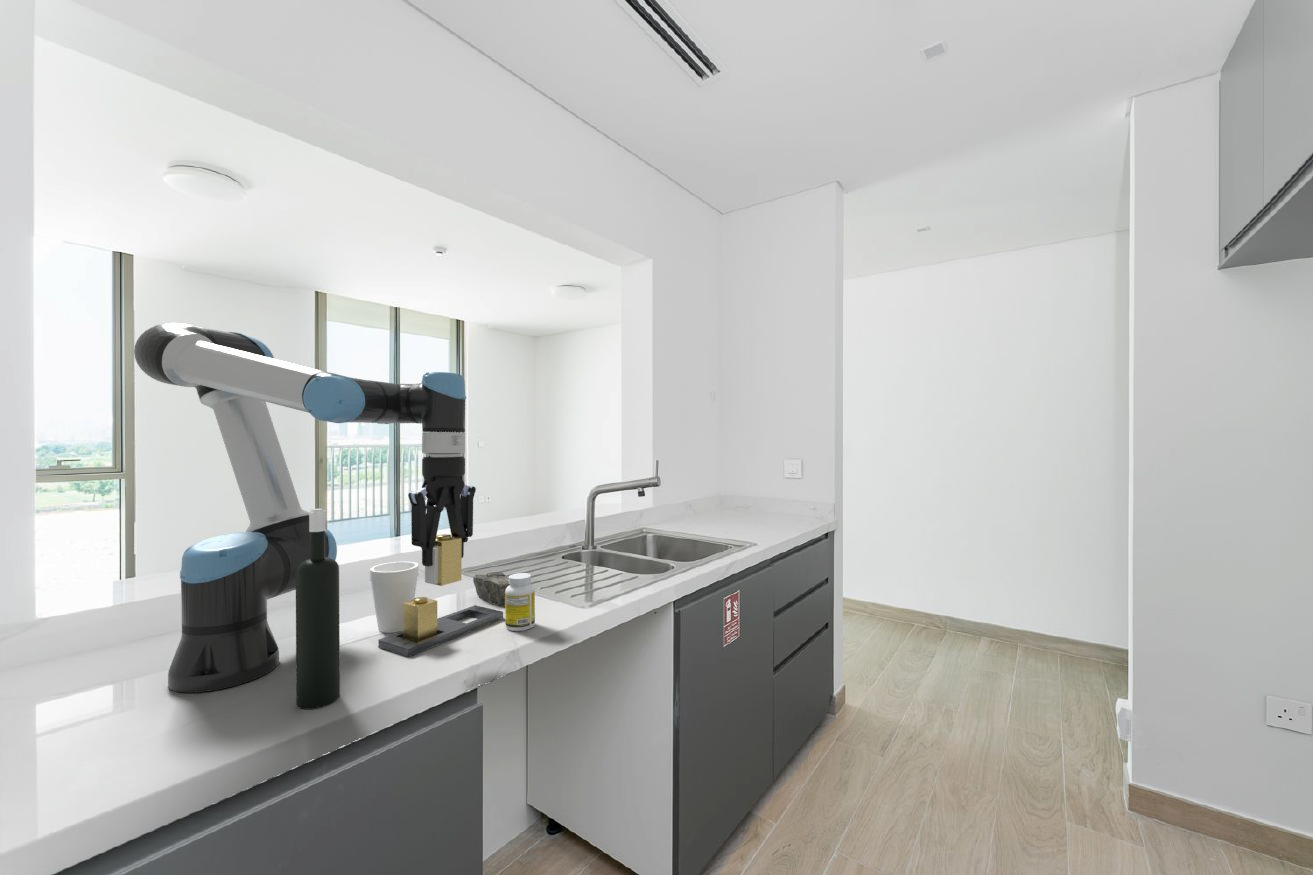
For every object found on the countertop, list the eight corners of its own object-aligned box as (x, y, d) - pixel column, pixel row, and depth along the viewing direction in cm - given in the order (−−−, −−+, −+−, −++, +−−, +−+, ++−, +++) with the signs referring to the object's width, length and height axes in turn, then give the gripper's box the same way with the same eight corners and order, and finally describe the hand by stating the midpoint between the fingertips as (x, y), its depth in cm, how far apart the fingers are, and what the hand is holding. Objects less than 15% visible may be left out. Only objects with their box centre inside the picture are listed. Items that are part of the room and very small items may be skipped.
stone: (524, 613, 137) (530, 583, 133) (500, 626, 132) (507, 595, 128) (491, 582, 144) (496, 552, 140) (467, 593, 138) (472, 562, 134)
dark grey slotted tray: (408, 656, 101) (408, 648, 101) (378, 647, 106) (378, 639, 106) (503, 618, 122) (503, 611, 122) (475, 611, 127) (475, 605, 127)
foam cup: (364, 626, 117) (363, 566, 117) (408, 616, 123) (408, 559, 123) (379, 638, 110) (379, 574, 110) (425, 627, 117) (425, 566, 117)
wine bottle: (309, 691, 88) (308, 506, 87) (346, 690, 88) (345, 506, 88) (288, 710, 82) (286, 512, 82) (327, 708, 83) (326, 511, 82)
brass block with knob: (417, 647, 106) (417, 603, 106) (403, 643, 108) (403, 600, 108) (437, 639, 110) (437, 597, 110) (422, 635, 112) (422, 594, 112)
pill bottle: (520, 619, 122) (520, 570, 121) (540, 624, 118) (540, 574, 118) (498, 628, 116) (498, 576, 116) (520, 634, 113) (520, 581, 113)
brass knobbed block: (441, 585, 99) (441, 538, 99) (425, 582, 101) (425, 536, 101) (461, 580, 103) (461, 534, 103) (445, 576, 105) (445, 532, 105)
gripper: (415, 458, 92) (415, 594, 93) (493, 454, 108) (493, 571, 108) (388, 456, 96) (387, 587, 97) (467, 453, 111) (466, 566, 112)
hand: (443, 579), depth 102 cm, fingers closed on brass knobbed block, 4 cm apart
